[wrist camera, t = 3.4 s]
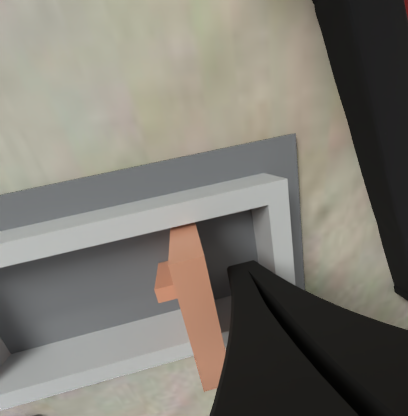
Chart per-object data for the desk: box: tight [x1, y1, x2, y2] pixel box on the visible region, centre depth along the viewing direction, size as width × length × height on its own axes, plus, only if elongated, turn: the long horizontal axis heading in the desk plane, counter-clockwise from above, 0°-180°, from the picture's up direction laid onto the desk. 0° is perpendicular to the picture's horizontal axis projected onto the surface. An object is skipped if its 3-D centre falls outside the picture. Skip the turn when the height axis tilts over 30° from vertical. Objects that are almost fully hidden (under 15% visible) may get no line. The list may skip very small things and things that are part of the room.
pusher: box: [154, 222, 226, 392], centre depth 10 cm, size 6×3×5 cm, turn 11°
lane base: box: [0, 133, 305, 411], centre depth 11 cm, size 12×22×3 cm, turn 101°
